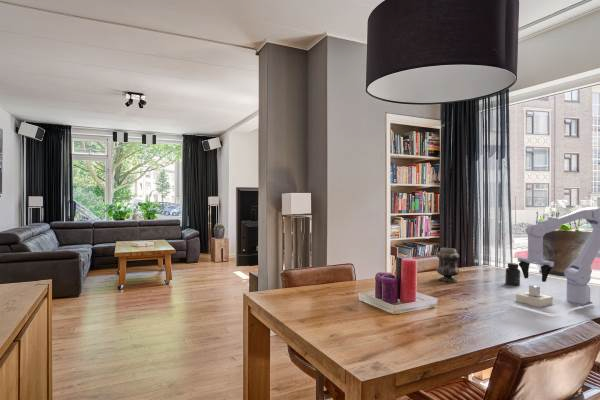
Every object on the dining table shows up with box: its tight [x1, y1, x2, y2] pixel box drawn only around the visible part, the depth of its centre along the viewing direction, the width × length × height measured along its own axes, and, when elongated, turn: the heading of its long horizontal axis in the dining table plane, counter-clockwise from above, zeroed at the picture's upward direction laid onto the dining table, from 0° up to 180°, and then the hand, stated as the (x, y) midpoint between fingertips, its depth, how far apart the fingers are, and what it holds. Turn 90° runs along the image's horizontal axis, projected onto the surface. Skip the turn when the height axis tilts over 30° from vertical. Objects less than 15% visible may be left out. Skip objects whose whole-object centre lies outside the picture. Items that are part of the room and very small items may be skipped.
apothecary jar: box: [436, 247, 460, 283], centre depth 204 cm, size 12×12×18 cm
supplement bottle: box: [504, 262, 521, 287], centre depth 192 cm, size 7×7×12 cm
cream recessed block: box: [499, 291, 567, 309], centre depth 164 cm, size 20×18×4 cm
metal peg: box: [528, 284, 541, 298], centre depth 159 cm, size 4×4×7 cm
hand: (535, 279), depth 165 cm, fingers open, 7 cm apart
